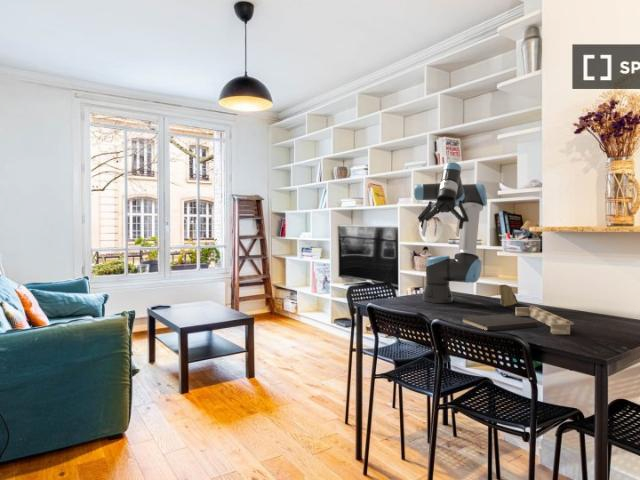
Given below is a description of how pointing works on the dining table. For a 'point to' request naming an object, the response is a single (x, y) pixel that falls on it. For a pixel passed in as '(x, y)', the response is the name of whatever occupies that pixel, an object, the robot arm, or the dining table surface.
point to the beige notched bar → (546, 319)
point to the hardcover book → (499, 322)
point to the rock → (507, 296)
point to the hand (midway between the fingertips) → (439, 234)
